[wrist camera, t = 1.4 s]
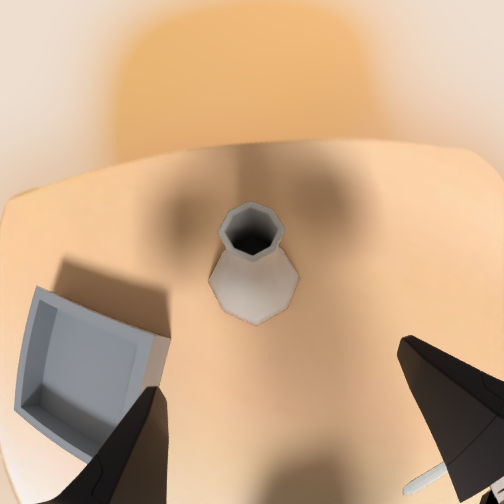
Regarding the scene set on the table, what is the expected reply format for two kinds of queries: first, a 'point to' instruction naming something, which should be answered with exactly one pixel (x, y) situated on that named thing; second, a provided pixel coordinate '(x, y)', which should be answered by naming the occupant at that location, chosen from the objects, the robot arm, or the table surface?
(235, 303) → the flask
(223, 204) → the table surface
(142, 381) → the tray
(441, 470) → the butter knife
